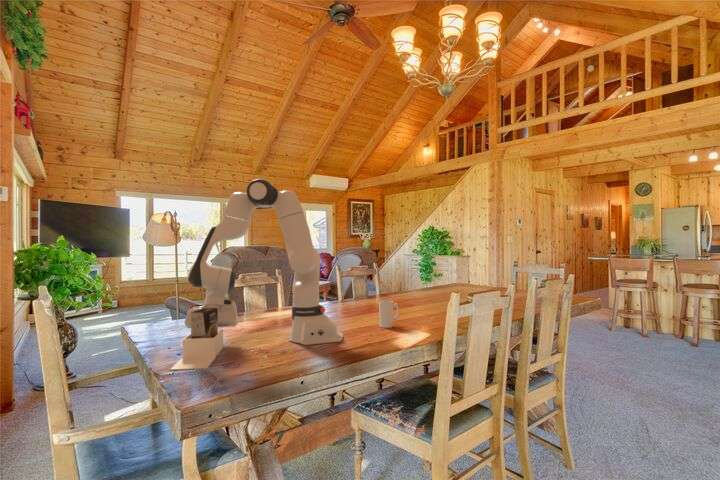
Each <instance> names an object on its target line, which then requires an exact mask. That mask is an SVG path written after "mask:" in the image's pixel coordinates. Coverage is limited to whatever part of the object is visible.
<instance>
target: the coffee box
mask: <svg viewBox="0 0 720 480" xmlns="http://www.w3.org/2000/svg"><path fill="white" fill-rule="evenodd" d="M217 309H218V308H202V309H200V310H197V311H194V312H191V328H190V333H191V339H195V338H214V337H215V336H216V335H217V334H218V333H219V329H218V328H219V327H218V311H217Z"/></svg>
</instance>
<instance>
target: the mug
mask: <svg viewBox="0 0 720 480" xmlns="http://www.w3.org/2000/svg"><path fill="white" fill-rule="evenodd" d="M394 308H396V310H397V311H396V313H395V314H396V315H394ZM378 310H379V312H378V314H379V315H378V316H379V317H378V318H379V319H378V320H379V327H380V328H382V329H383V328H384V329H391V328H394V327H393V326H394V321H397V320H398V318H399V316H400V307H399V306H398V303H397V302H395V303H394V301H393V300H389V299H388V300H387V299H386V300H379V301H378Z"/></svg>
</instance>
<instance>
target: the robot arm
mask: <svg viewBox="0 0 720 480" xmlns="http://www.w3.org/2000/svg"><path fill="white" fill-rule="evenodd" d="M271 208H272V209H274V211H275V213H276V216H277V219H278V223H279V227H280V229H281V232H282V234H283V238H284V242H285V243H284V244H285V249H286V254H287V257H288V262H289V266H290V268H291V269H292V270H293V271H294V272H293V273H294V275H293V281H292V282H293V283H292V306H291V319H292V323H291V332H290V336H289V341H290V342H292V343H297V344H301V345H304V346H306V345H307V346H309V345H316V344H319V345H320V344H327V343H328V344H329V343H339V342H342V340H343V338H344V335H343V333H342V332H340V331H339V330H338V326H337V323H336V322H335V320H333V319H332V318H330V316H328V315H327V314H325V313H326V308H325V307H324V306H323V305H321V304H320V275H321V274H320V273H321V255H320V253H319V251H318V250H317V249H316V248H314V244H313V241H312V237H311V231H310V228H309V227H310V226H309V224H308V220H307V218H306V214H305V212H304V209H303V206H302V204H301V202H300V200H299V198H298V196H297V194H296V192H294V191H293V190H288V189H287V190H286V189H285V190H281V191H280V190H278V189H277V188H276V187H275V185H273V184H272V183H271V182H269V181H268V180H266V179H263V178H257V179H254V180H251V181H250V182H249V183H248V185H247V187H246V192H243V191H237V192H233V193H232V194H231V195H230V197H229V198H228V201H227V203H226V206H225V209H224V212H223V216H222V219H221V220H220V222H219V223H218V224H217V225H213V226H212V227H211V228H210V230H209V232H208V233H207V236H206V238H205V240H204V242H203V244H202V245H201V248H200V249H199V252H198V254H197V258H196V260H195V261H194V263H193V264H192V266H191V267H190V268H189V270H188V274H187V281H188V282H189V284H190V285H191V286H192V287H194V288H205V289H206V295H205V297H204V300H203V305H202V306H192V307H189V308H188V310H187V313H186V317H185V319H184V324H185V327H186V328H187V329H191V312H194V311H197V310H200V309H202V308H218V309H217V311H218V328H225V327H226V328H228V327H229V328H230V327H232V328H233V327H236V326H238V323H239V322H238V321H239V317H238V312H237V310H238V309H237V305H236V302H235V301H234V300H231V299H227V297H228V295H229V294H230V293H231V292H232V291H234V289H235V286H236V285H235V284H236V280H237V279H236V278H237V274H236V272H235V271H234V270H233V269H232V268H231V267H230V268H229V267H225V266H218V265H214V264H213V265H212V264H208V263H207V260H208V258H209V257H210V255H211V252H212V250H213V248H214V246H215V245H216V244H218V243H219V242H222V241H232V240H237V239H239V238H242V237H244V236H245V235H246V234H247V232H248V230H249V228H250V223H251V219H252V215H253V213H254V211H255V210H263V209H264V210H265V209H267V210H268V209H271Z"/></svg>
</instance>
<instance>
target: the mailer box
mask: <svg viewBox="0 0 720 480" xmlns="http://www.w3.org/2000/svg"><path fill="white" fill-rule="evenodd" d="M223 349H224V329H221V330H220V331H218V334H217V335H216V336H215V337H214V338H195V339H191V332H190V333H188V334H187V335H186V336H185V337H184V338H183V339H182V358H181V359H179V360H178V361H177V362H176V363H175V364H174V365H173V366H172V367H171V368H170V369H169V371H185V370H187V371H188V370H202V369H203V370H204V369H205V370H206V369H208V368H209V367H210V366H211V365H212V363H213V362H214V361H215V360H216V358H217V356H218V355H219V354H220V352H221V351H222V350H223Z"/></svg>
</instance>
